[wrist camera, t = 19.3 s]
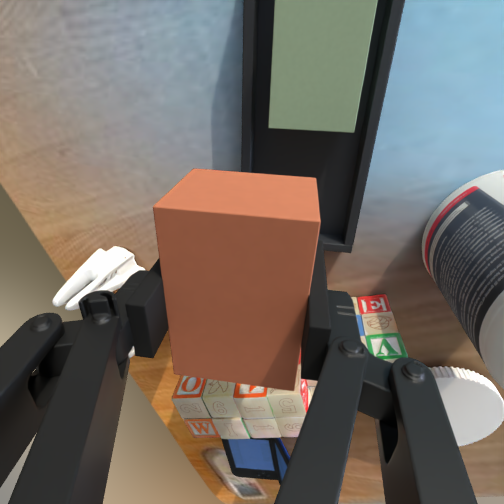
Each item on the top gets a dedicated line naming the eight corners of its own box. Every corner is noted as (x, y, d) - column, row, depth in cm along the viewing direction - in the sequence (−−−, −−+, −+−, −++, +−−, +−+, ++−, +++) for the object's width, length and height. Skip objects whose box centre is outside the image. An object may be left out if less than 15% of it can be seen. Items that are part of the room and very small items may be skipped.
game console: (217, 414, 50) (201, 479, 43) (304, 417, 48) (305, 487, 40) (234, 469, 58) (223, 533, 50) (310, 474, 56) (311, 543, 48)
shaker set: (187, 307, 40) (152, 382, 31) (164, 320, 42) (123, 395, 32) (117, 234, 36) (52, 294, 27) (94, 251, 38) (25, 314, 28)
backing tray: (250, -61, 22) (244, -75, 20) (409, -62, 21) (421, -77, 19) (244, 231, 34) (240, 242, 32) (347, 240, 33) (351, 253, 31)
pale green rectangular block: (281, -19, 23) (276, -37, 19) (368, -18, 22) (384, -37, 18) (273, 118, 27) (268, 128, 23) (346, 121, 27) (354, 133, 23)
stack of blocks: (386, 291, 35) (421, 388, 25) (389, 333, 38) (422, 437, 27) (204, 312, 40) (168, 400, 30) (219, 348, 43) (191, 440, 33)
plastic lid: (361, 415, 46) (363, 432, 44) (404, 347, 39) (410, 364, 37) (457, 439, 46) (465, 458, 44) (519, 376, 39) (532, 395, 36)
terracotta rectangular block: (192, 168, 16) (152, 206, 12) (316, 177, 15) (321, 221, 11) (201, 309, 20) (173, 374, 16) (296, 321, 20) (294, 391, 16)
